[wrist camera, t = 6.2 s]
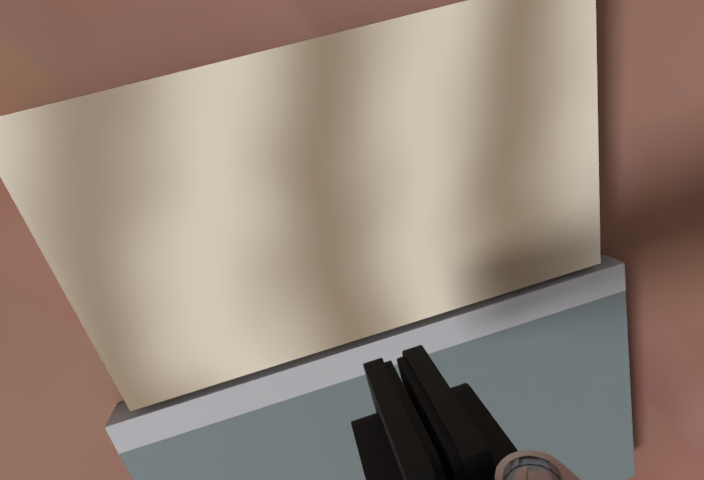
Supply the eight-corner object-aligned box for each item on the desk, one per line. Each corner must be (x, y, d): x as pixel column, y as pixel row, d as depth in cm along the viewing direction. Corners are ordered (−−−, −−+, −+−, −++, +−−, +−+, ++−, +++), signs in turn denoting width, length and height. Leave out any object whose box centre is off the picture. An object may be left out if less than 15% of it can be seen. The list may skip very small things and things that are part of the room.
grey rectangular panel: (600, 252, 18) (624, 262, 17) (614, 455, 22) (635, 476, 21) (117, 403, 17) (104, 427, 15) (215, 598, 20) (212, 630, 19)
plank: (569, -23, 14) (595, -32, 13) (580, 252, 18) (600, 263, 17) (-4, 119, 13) (-29, 123, 12) (138, 388, 16) (130, 411, 15)
